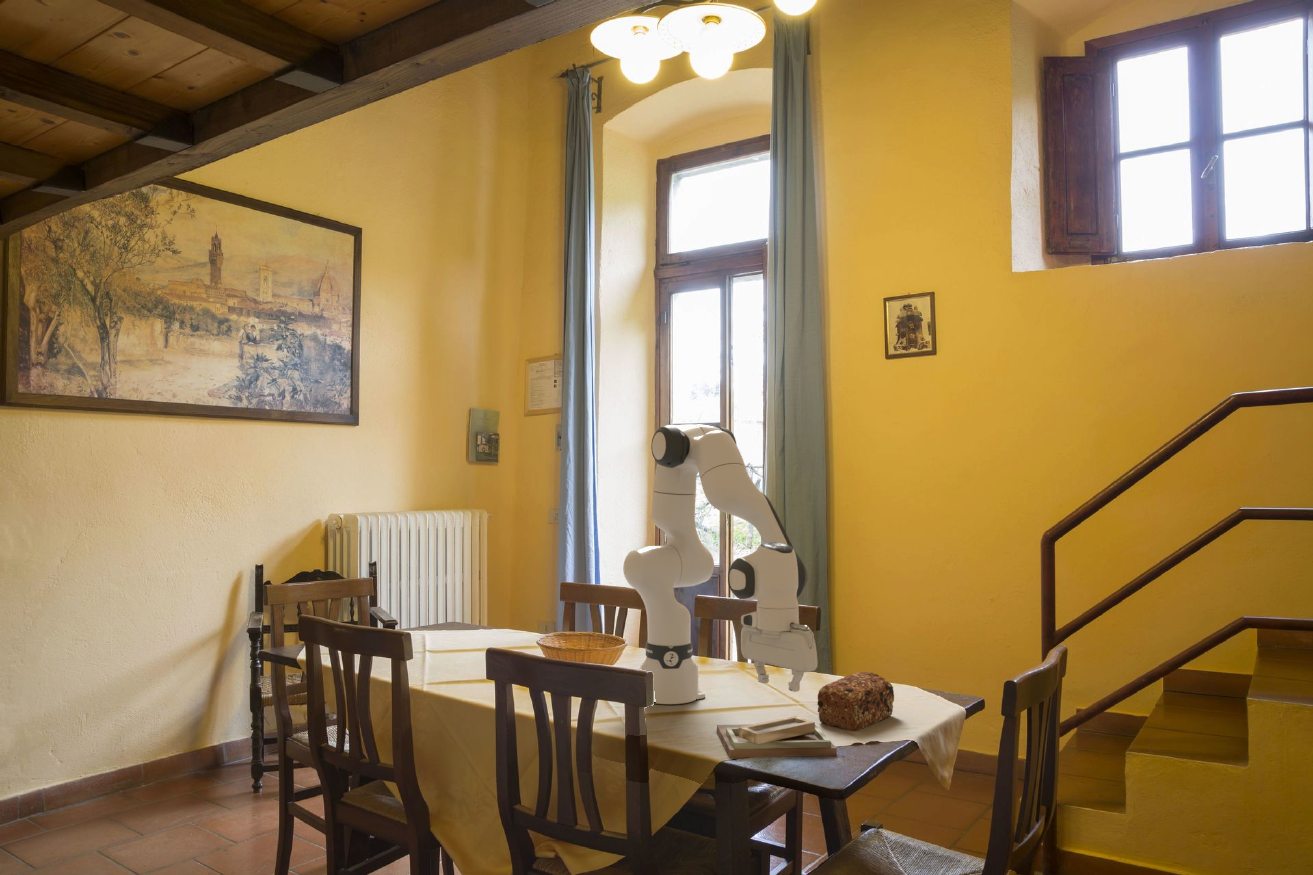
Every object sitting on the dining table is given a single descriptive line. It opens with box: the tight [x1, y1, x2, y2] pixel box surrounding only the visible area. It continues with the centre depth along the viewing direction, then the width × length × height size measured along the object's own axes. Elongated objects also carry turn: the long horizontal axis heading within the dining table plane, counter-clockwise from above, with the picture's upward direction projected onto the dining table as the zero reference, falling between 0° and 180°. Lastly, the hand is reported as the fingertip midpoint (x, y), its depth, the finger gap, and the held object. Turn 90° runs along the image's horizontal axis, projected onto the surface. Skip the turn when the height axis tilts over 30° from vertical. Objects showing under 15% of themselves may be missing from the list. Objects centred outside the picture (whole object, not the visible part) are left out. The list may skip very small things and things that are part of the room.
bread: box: [817, 671, 895, 732], centre depth 205 cm, size 19×11×10 cm, turn 136°
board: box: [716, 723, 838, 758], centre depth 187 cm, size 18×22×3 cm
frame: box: [739, 715, 816, 744], centre depth 184 cm, size 6×16×2 cm, turn 125°
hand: (778, 686), depth 184 cm, fingers open, 8 cm apart
